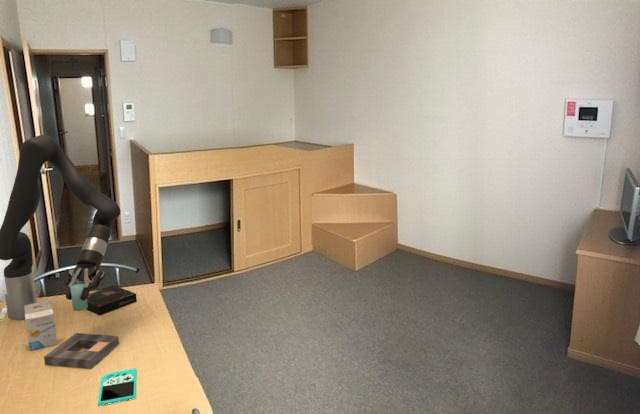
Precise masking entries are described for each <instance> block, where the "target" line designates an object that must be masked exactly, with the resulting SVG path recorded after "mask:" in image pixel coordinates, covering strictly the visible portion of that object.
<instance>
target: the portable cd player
mask: <svg viewBox="0 0 640 414" xmlns="http://www.w3.org/2000/svg"><path fill="white" fill-rule="evenodd" d="M134 303H137V293H135V292H132V291H130V290H128V289H125V288H122V287H120V286H118V285H117V286H116V285H111V286H108V287H105V288H102V289H101V288H100V289H99V290H96V291H93V292H92V291H91V292H89V295H88V297H87V304H88V308H87V309H85V310H86V311H89V312H91V313H93V314H95V315H97V316H103V315H105V314H107V313H110V312H113V311H115V310H119V309H121V308H123V307H127V306H129V305H132V304H134Z"/></svg>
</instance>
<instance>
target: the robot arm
mask: <svg viewBox="0 0 640 414" xmlns="http://www.w3.org/2000/svg"><path fill="white" fill-rule="evenodd" d="M46 162H49V163H50V164H51V165H53V166H54V168H56V169H57V171H58V172H59V173H60V174H61V176H62V178H63V181H64V183H65V185H66V187H67V189H68V190H69V191H70V192H71V193H72V194H73V195H74V197H76V198H77V199H78V201H80V202H81V203H82V204H83V205H84V206H86V207H90V206H91V207H93V208H94V209H95V210H96V211H95V213H94V215H93V219H92V223H91V228H90V230H89V232H88V235H87V237H86V240H85V241H84V243H83V246H82V248H81V250H80V252H79V256H78V258H77V261H76V265H75V267H74V268H73V269H68V268H67V269H65V272H64V281H63V285H64V286H66V287H67V290H66V294H65V299H67V300H69V301H72V296H71V289H70V287H71V286H72V285H75V284H82V282H84V284H85V288H83V291H82V293H81V296H80V299H81V300H83V301H85V300H86V299H87V297H88V295H89V293H91V290H93V289H94V290H97V289H98V287H99V286H100V284H101V282H102V281H103V280H104V278H105V276H106V274H105V272H104V271H103V270H100V268H101V266H102V263H103V260H104V257H105V255H106V252H107V249H108V248H107V247H108V243H109V241H110V238H111V234H112V231H111V228H112V226H113V223H114V222H115V221H116V219H117V218H119V216H120V215H121V208H120V206H119V203H117V202H116V201H114V200H113V198H110V197H109V196H108V195H106V194H105V193H102V192H101V191H99V189H98V188H97V187H96V186H94V185H93V184H92V183H91V182H90V181H89V180H88V179H87V178H86V177H85V176H84V175H83V173H81V172H80V170H79V169H78V167H76V166H75V164H74V163H73V161H72V160H71V159H70V157H69V156H68V155H67V154H66V152H65V151H64V149H63V148H62V147H61V145H60V144H59V143H58V142H57V141H56V140H55V139H54V138H53V137H52V136H50V135H47V134H39V135H36V136H34V137H30V138H28V139H26V140H25V141H24V142H23V143H22V145H21V146H20V150H19V155H18V164H17V171H16V175H15V178H14V183H13V185H12V190H11V192H10V196H9V200H8V204H7V208H6V211H5V215H4V218H3V221H2V224H1V226H0V260H1V261H10V260H11V262H10V263H9V264H8V265H6V266H5V267H4V268H3V277H4V283H5V289H6V293H5V294H4V298H5V299H4V300H5V305H6V310H7V317H8V318H10V319H11V320H14V321H15V320H16V321H19V320H25V310H24V306H25V305H30V304H35V303H38V302H37V296H36V290H35V281H34V276H33V264H34V260H33V259H34V258H33V248H32V242H31V238H30V237H29V236H28V234H26V233H25V232H23V231H21V230H22V229H23V228H24V227H25V225H26V224H27V223H29V222H30V220H31V218H33V217H34V215H35V213H36V212H37V209H38V207H39V204H40V200H41V195H42V193H41V187H40V184H39V183H40V182H39V177H40V174H41V170H42V169H43V168H42V167H43V166H44V164H45V163H46ZM33 308H38V305H37V306H36V307H33Z"/></svg>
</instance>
